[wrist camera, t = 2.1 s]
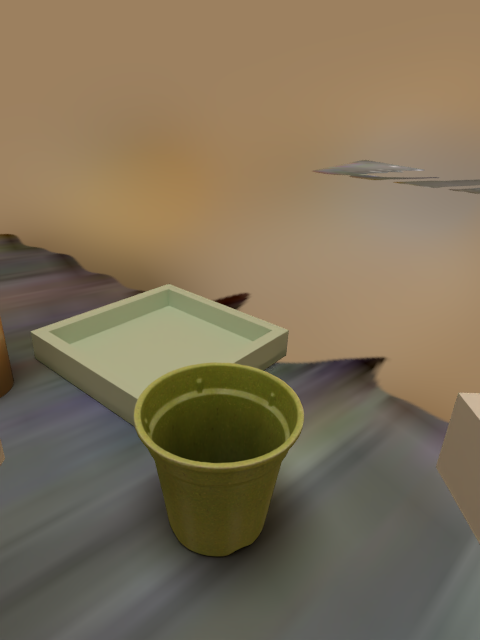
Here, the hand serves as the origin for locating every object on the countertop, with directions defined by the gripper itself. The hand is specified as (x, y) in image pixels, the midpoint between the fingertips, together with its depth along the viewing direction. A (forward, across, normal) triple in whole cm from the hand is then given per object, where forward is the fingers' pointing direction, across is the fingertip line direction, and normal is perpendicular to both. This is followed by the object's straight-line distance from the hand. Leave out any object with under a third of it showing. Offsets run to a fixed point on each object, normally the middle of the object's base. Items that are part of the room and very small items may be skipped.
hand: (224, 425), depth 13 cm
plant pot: (+10, 0, -16) cm, 19 cm away
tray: (+30, -6, -15) cm, 34 cm away
